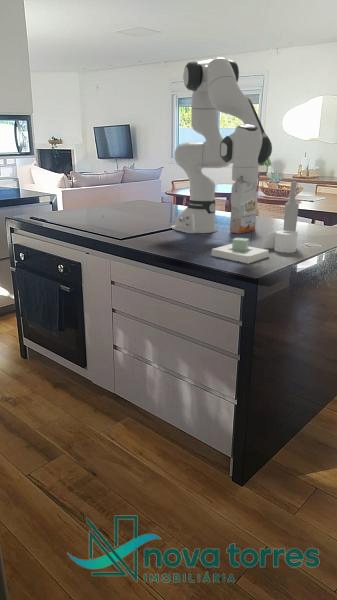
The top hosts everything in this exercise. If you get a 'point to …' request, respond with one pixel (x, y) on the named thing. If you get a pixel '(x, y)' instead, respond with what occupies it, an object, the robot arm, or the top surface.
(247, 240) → the plug
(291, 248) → the toilet paper
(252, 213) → the cracker box
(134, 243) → the top surface
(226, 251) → the socket plate
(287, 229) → the bottle
